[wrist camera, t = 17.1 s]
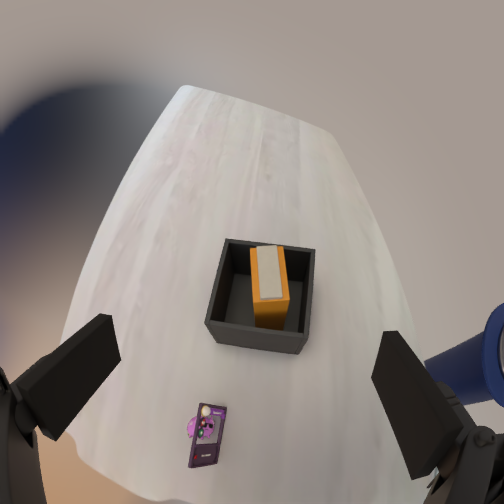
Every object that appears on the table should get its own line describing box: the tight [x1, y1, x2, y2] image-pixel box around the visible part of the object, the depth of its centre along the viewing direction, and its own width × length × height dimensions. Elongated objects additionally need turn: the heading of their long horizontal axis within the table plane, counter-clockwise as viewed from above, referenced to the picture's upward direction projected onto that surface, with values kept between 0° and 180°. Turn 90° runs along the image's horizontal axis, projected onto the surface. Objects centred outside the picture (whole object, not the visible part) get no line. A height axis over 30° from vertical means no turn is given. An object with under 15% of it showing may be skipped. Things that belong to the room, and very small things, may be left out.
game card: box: [187, 403, 227, 468], centre depth 31 cm, size 7×5×9 cm
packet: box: [250, 245, 290, 331], centre depth 37 cm, size 4×7×13 cm, turn 3°
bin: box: [204, 239, 315, 355], centre depth 39 cm, size 12×12×10 cm
